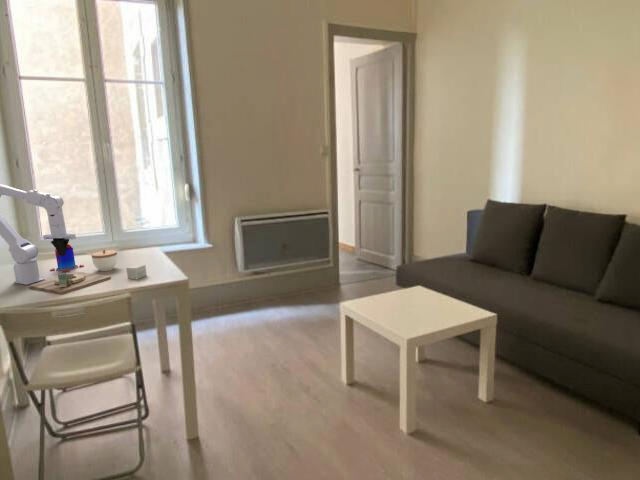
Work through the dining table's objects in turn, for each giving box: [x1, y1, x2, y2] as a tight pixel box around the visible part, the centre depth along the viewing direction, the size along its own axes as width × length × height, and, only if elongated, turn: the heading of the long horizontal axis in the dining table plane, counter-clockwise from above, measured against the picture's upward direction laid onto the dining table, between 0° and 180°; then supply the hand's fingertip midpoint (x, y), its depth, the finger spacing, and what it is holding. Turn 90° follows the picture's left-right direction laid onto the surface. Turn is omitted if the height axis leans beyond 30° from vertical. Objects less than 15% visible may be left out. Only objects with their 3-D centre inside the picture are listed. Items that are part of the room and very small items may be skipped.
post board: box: [27, 271, 112, 295], centre depth 191 cm, size 22×22×4 cm
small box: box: [125, 264, 148, 280], centre depth 196 cm, size 6×6×5 cm
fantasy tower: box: [49, 243, 85, 273], centre depth 215 cm, size 12×12×12 cm
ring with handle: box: [54, 272, 86, 287], centre depth 189 cm, size 15×11×5 cm
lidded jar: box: [90, 249, 118, 272], centre depth 211 cm, size 11×11×9 cm
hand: (62, 255), depth 195 cm, fingers closed
